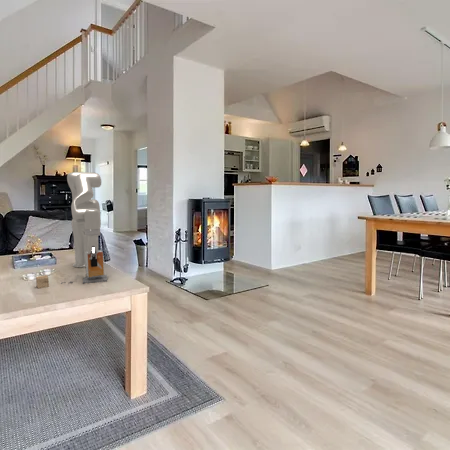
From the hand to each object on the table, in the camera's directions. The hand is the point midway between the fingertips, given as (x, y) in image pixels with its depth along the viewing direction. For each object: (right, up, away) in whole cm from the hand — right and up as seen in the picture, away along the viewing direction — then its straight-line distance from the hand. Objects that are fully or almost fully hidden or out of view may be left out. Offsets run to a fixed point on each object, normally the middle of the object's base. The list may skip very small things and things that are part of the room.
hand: (94, 264), depth 187 cm
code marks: (-13, -9, -5) cm, 16 cm away
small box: (0, -6, +1) cm, 6 cm away
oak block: (-22, -10, -11) cm, 27 cm away
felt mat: (0, -8, +1) cm, 8 cm away
